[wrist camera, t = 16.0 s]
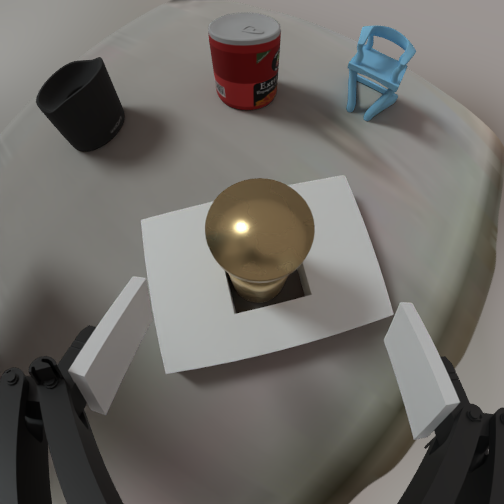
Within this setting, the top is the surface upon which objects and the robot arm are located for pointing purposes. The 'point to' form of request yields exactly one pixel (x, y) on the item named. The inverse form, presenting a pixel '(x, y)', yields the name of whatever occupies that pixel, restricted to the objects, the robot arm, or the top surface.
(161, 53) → the top surface
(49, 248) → the top surface
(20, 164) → the top surface
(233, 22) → the canned food
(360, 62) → the chair
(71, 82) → the pen holder
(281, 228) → the brass ball knob
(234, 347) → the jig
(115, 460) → the top surface
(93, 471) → the robot arm
